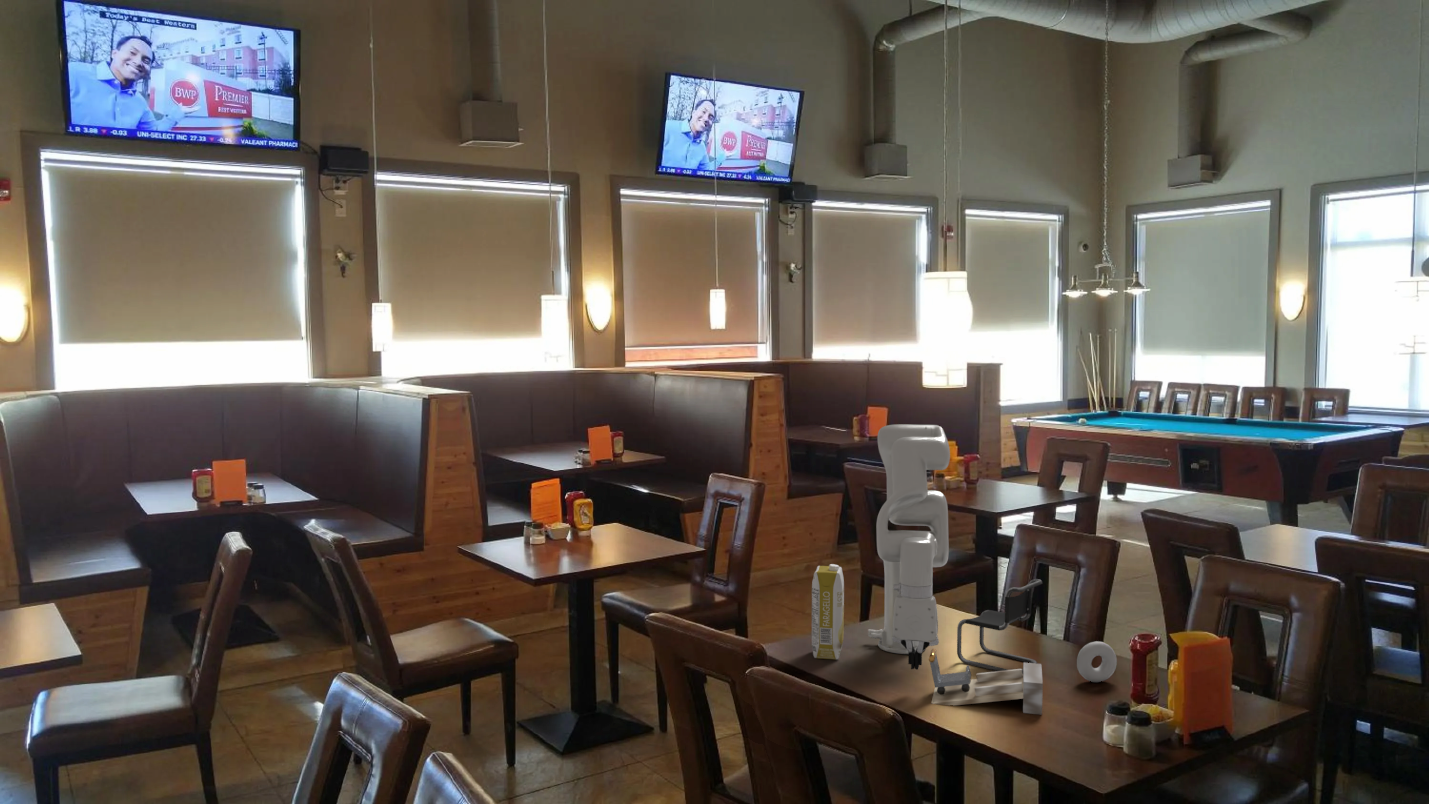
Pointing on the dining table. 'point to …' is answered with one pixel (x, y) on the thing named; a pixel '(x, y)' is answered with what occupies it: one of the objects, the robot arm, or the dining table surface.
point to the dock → (999, 689)
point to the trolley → (948, 676)
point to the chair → (1001, 622)
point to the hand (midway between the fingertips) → (915, 667)
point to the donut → (1087, 656)
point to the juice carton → (827, 612)
